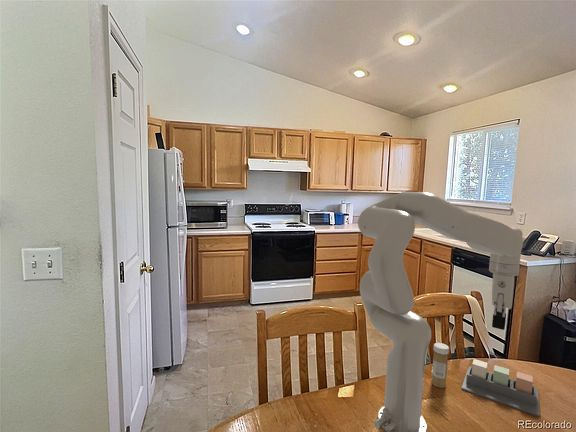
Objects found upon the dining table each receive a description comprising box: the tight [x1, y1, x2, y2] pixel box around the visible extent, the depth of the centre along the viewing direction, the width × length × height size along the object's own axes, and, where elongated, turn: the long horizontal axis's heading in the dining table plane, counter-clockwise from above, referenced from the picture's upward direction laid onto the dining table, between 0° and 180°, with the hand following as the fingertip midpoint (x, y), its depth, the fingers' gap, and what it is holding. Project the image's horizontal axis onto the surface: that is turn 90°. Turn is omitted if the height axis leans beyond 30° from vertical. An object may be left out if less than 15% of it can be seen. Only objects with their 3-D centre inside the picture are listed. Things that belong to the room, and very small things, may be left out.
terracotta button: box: [515, 371, 534, 394], centre depth 100 cm, size 4×4×4 cm
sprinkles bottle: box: [431, 342, 450, 389], centre depth 106 cm, size 5×5×13 cm
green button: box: [492, 364, 510, 387], centre depth 103 cm, size 4×4×4 cm
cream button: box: [471, 358, 488, 380], centre depth 107 cm, size 4×4×4 cm
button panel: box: [461, 365, 541, 418], centre depth 103 cm, size 14×20×4 cm
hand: (498, 326), depth 98 cm, fingers open, 2 cm apart
